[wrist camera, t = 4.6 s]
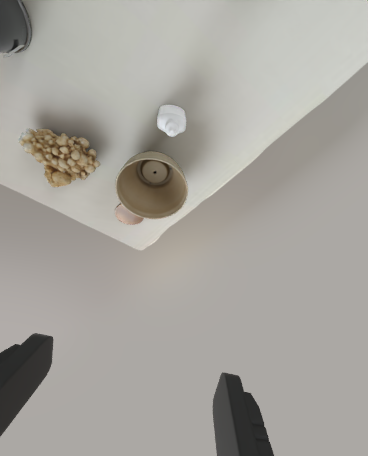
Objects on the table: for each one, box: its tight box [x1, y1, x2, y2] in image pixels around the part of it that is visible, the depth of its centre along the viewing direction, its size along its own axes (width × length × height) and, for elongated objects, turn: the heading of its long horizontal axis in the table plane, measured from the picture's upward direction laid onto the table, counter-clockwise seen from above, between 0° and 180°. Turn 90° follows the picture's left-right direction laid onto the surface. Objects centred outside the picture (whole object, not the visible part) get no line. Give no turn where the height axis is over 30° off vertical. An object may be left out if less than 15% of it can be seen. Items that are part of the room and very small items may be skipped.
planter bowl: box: [115, 151, 188, 219], centre depth 46 cm, size 16×16×11 cm
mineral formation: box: [18, 129, 100, 187], centre depth 43 cm, size 8×13×15 cm
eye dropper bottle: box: [157, 105, 186, 137], centre depth 36 cm, size 4×6×12 cm
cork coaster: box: [115, 204, 143, 225], centre depth 60 cm, size 9×9×1 cm
